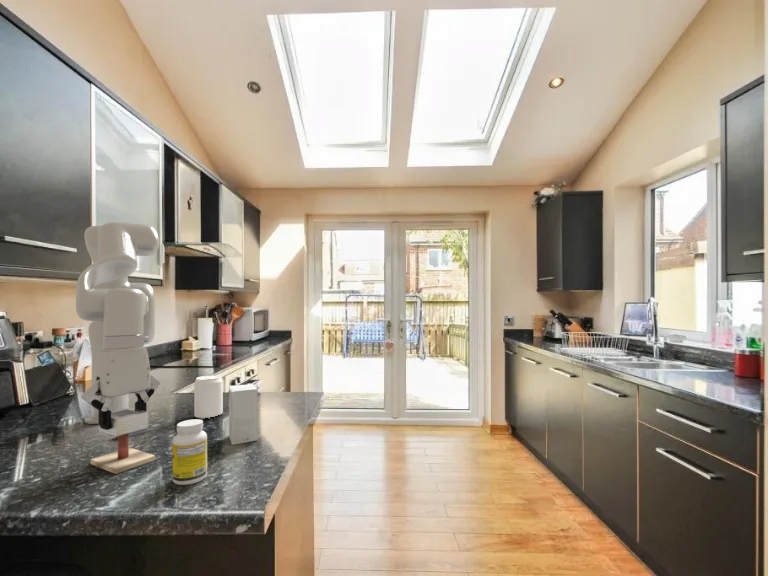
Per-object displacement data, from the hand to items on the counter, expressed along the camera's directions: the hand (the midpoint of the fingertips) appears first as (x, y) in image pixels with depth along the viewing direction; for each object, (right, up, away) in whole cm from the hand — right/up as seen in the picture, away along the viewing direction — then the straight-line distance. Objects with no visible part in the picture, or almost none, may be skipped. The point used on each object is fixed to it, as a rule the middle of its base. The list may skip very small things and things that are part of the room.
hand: (123, 423), depth 86 cm
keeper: (0, -8, 0) cm, 8 cm away
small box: (+22, -9, +14) cm, 27 cm away
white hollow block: (0, -1, 0) cm, 1 cm away
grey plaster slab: (-10, -9, +19) cm, 23 cm away
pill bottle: (+20, -8, -10) cm, 23 cm away
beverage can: (+3, -10, +35) cm, 37 cm away
